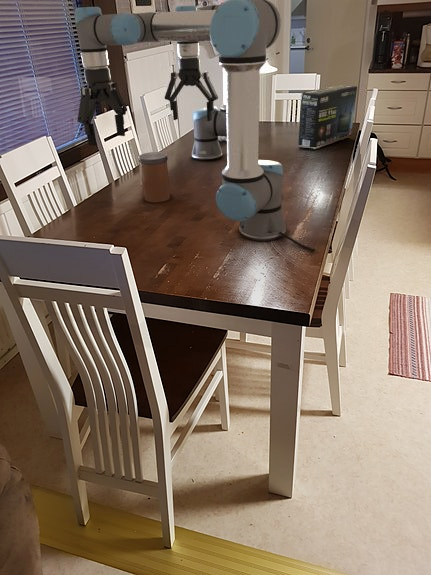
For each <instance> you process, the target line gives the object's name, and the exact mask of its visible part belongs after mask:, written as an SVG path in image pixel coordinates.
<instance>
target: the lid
mask: <svg viewBox="0 0 431 575" xmlns="http://www.w3.org/2000/svg"><path fill="white" fill-rule="evenodd" d="M168 158H169V157H168V153H166V152H164V151H163V152H162V151H150V152H145V153H142V154H140V155H138V162H139V164H140V163H142V164H159V163H163V162H166V161H167V162H168V160H169V159H168Z"/></svg>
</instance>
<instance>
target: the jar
mask: <svg viewBox="0 0 431 575" xmlns="http://www.w3.org/2000/svg"><path fill="white" fill-rule="evenodd" d="M139 164H140V172H141V180H142V188H143V196H144V200H145V201H146V202H149V203H163V202H166V201H168V200H170V199H171V192H170V179H169V169H168V160H167V161H166V162H163V163H159V164H142V163H140V162H139Z"/></svg>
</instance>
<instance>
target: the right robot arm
mask: <svg viewBox="0 0 431 575" xmlns="http://www.w3.org/2000/svg"><path fill="white" fill-rule="evenodd" d="M219 5H220V6H219V7H218V8H217V10H201V11H179V12H175V11H159V12H150V11H149V12H138V13H133V12H132V13H126V12H124V13H110V14H103V13H102V9H101V8H100V6H86V7H84V6H83V7H81V6H80V7H76V8H75V10H74V19H75V20H74V21H75V27H76V32H77V38H78V43H79V50H80V55H81V62H82V67H83V68H84V70H83V73H84V80H85V82H86V83H87V87H80V100H79V101H80V102H79V108H78V113H77V114H78V115H77V123H80V124H82V125H83V128H84V132H85V136H86V137H87V143H88V146H91V147H96V146H98V142H97V138H96V131H95V125H94V123H92V121H93V119H94V115H95V113H96V109H97V107H98V105H99V104H100V102H101V103H102V102H103V101H106V102H107V104H108V105H109V107H111V109H112V110H113V111H114V113H115V115H114V121H115V128H116V134H117V136H118V137H126V130H125V118H124V116H125V115H127V112H128V108H127V105H126V103H125V101H124V99H123V96H122V94H121V92H120V90H119V86H118V82H116V81H114V82H113V81H112V78H111V71H110V68H109V67H108V66H109V65H110V63H109V56H108V50H107V46H124V47H125V46H133V45H136V44H139V43H159V42H160V43H161V42H162V43H165V42H166V43H167V42H170V43H171V42H173V43H175V42H176V43H177V42H206V43H207V42H210V43H211V45H212V46H213V47H214V48H215V51H216V52H217V53H218V65H220V66H221V67H222V69H223V68H224V70H225V75H226V120H227V141H226V159H227V160H226V161H227V164H226V166H225V167H224V168H223V169H222V171H221V180H222V182H221V183H222V185H220V187H218V189H217V191H216V194H215V202H216V206H217V208H218V211H219V212H220V213H221V214H223V216H224V217H225V218H226V219H228V220H230V221H233V222H239V226H238V232H239V235H240V236H241V237H242V238H244V239H247V240H250V241H254V242H271V241H277V240H279V239H281V238H283V237H284V238H286V239H288V240H289V241H291V242H292V243H293V244H296V245H297V246H299V247H300V248H304V249H305V250H309V251H311V252H315V251H316V249H315V248H313V247H310V246H308V245H305V244H303V243H300V242H298V241H297V240H296V239H294V238H292V237H291V236H289V235H287V223H286V221H285V216H284V214H283V210H282V200H283V183H284V168H283V164H282V163H280V162H279V161H275V160H270V159H259V155H260V154H259V152H260V150H259V149H260V148H259V146H260V144H259V143H260V141H259V140H260V84H261V82H260V80H261V79H260V76H261V75H260V74H261V68H262V67H263V66H264V65H265V64H266V63H267V49H269V48H270V47H272V46H273V45H274V44H275V43H276V41H277V40H278V38H279V36H280V33H281V29H282V28H281V27H282V18H281V14H280V11H279V9H278V7H276V6H275V4H274V3H273V2H271V1H270V0H226V1H224V2H222V3H221V4H219Z"/></svg>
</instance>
